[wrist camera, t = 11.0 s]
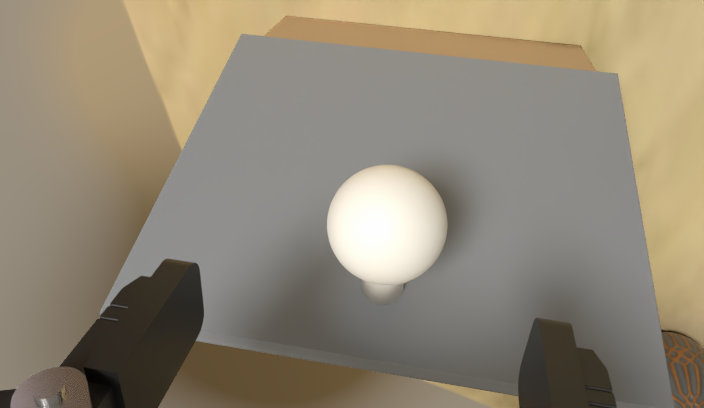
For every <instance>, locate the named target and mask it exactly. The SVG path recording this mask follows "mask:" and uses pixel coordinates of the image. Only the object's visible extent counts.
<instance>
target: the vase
mask: <svg viewBox="0 0 704 408" xmlns="http://www.w3.org/2000/svg"><path fill="white" fill-rule="evenodd" d="M661 333H662V339H663V345H664V351H665V357H666V363H667V369H668V375H669V381H670V387H671V392H672V398H673V404H674V408H704V349H703V348H702V347H701V346H700V345H699V344H698V343H696V342H695V341H693V340H692V339H690V338H688V337H686V336H683V335H680V334H677V333H672V332H661Z"/></svg>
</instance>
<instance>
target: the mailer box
mask: <svg viewBox="0 0 704 408" xmlns="http://www.w3.org/2000/svg"><path fill="white" fill-rule="evenodd" d="M264 36H266V37H275V38H285V39H294V40H304V41H313V42H322V43H332V44H341V45H351V46H360V47H370V48H379V49H389V50H398V51H407V52H417V53H426V54H436V55H445V56H455V57H464V58H474V59H483V60H492V61H502V62H511V63H521V64H530V65H540V66H549V67H559V68H568V69H577V70H587V71H595V69H594V67H593V66H592V64H591V62H590V60H589V59H588V57H587V55H586V54H585V52H584V50H583V48H582V47H581V46H579V45H570V44H560V43H550V42H540V41H530V40H520V39H510V38H500V37H491V36H481V35H471V34H461V33H451V32H441V31H431V30H421V29H411V28H402V27H392V26H382V25H372V24H362V23H352V22H342V21H332V20H322V19H313V18H303V17H293V16H286V17H284V18H283V19H282V20H281V21H280V22H279V23H278V24H277V25H276V26H274V27H273V28H272V29H271V30H270V31H269V32H268V33H267V34H266V35H264Z"/></svg>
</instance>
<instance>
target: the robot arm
mask: <svg viewBox="0 0 704 408" xmlns="http://www.w3.org/2000/svg"><path fill="white" fill-rule="evenodd" d="M203 319H204V304H203V295H202V286H201V276H200V268H199V265H198V264H197V263H194V262H187V261H181V260H175V259H165V260H163V261H162V263H161V264H160V265H159V267H158V268H157V269H156V271H155V272H154V273H153V275H152V276H151V277H147V276H140V277H138V278H137V279H135V280H134V281H132V282H131V283H129V284H128V285H126V286H125V287H123V288H122V289H121V290H120V292H119V293H118V294H117V295H116V297H115V298H114V299H113V300H112V302H111V303H110V306H108V307H107V308H106V309H105V310H104V312H103V313H102V314H101V315H100V319H97V320H96V322H95V323H94V324H93V325H92V327H91V328H90V329H89V331H88V332H87V333H86V334H85V335H84V337H83V338H82V339H81V340H80V342H79V343H78V344H77V346H76V347H75V348H74V349H73V351H72V352H71V353H70V354H69V355H68V357H67V358H66V359H65V360H64V362H63V363H62V364H61V365H60V366H59V367H53V368H48V369H45V370H42V371H40V372H38V373H36V374H34V375H32V376H30V377H29V378H27V379H26V380H25V381H24V382H23V383H22V384H21V385H19V387H18V388H17V389H12V390H3V391H0V408H158V406H159V404H160V403H161V401H162V399H163V397H164V396H165V394H166V392H167V390H168V389H169V387H170V385H171V383H172V382H173V380H174V378H175V376H176V375H177V372H178V371H179V369H180V367H181V366H182V364H183V362H184V360H185V359H186V357H187V355H188V353H189V351H190V350H191V348H192V346H193V344H194V343H195V341H196V339H197V337H198V335H199V333H200V331H201V328H202V324H203ZM612 390H613V389H612V386H611V382H610V378H609V374H608V370H607V368H606V367H605V366H604V364H603V363H602V362H601V360H600V359H599V358H598V356H597V355H596V354H595V352H594V351H593V350H590V349H584V348H578V347H576V342H575V338H574V333H573V328H572V325H571V324H570V323H568V322H562V321H556V320H549V319H543V318H535V320H534V322H533V325H532V328H531V332H530V335H529V338H528V342H527V345H526V348H525V352H524V355H523V358H522V362H521V366H520V371H519V379H518V395H519V407H520V408H617V405H616V401H615V397H614V394H613V393H612Z"/></svg>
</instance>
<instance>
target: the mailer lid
mask: <svg viewBox="0 0 704 408" xmlns="http://www.w3.org/2000/svg"><path fill="white" fill-rule="evenodd" d="M165 259H175V260H181V261H187V262H194V263H197V264H198V265H199V268H200V276H201V286H202V295H203V304H204V319H203V324H202V328H201V331H200V333H199V335H198V337H197V339H196V341H201V342H206V343H212V344H218V345H224V346H229V347H236V348H241V349H247V350H253V351H259V352H264V353H270V354H276V355H282V356H288V357H294V358H300V359H306V360H311V361H317V362H323V363H328V364H334V365H340V366H346V367H352V368H358V369H364V370H369V371H375V372H381V373H387V374H393V375H398V376H405V377H410V378H416V379H422V380H428V381H433V382H439V383H445V384H451V385H457V386H463V387H468V388H474V389H480V390H486V391H492V392H498V393H503V394H509V395H515V396H519V395H518V379H519V371H520V366H521V362H522V358H523V355H524V352H525V348H526V345H527V342H528V338H529V335H530V332H531V328H532V325H533V322H534V320H535V318H543V319H549V320H556V321H562V322H568V323H570V324H571V325H572V328H573V333H574V338H575V342H576V347H578V348H584V349H590V350H593V351H594V352H595V354H596V355H597V356H598V358H599V359H600V360H601V362H602V363H603V364H604V366H605V367H606V368H607V370H608V374H609V378H610V382H611V386H612V389H613V390H612V393H613V394H614V397H615V401H616V405H617V408H674V404H673V398H672V392H671V387H670V381H669V375H668V369H667V363H666V357H665V351H664V345H663V339H662V333H661V327H660V321H659V316H658V310H657V304H656V298H655V292H654V286H653V280H652V274H651V268H650V262H649V256H648V250H647V245H646V239H645V233H644V227H643V221H642V215H641V209H640V203H639V197H638V191H637V185H636V179H635V174H634V168H633V162H632V156H631V150H630V144H629V138H628V132H627V126H626V120H625V114H624V108H623V103H622V97H621V91H620V85H619V79H618V74H615V73H606V72H596V71H587V70H577V69H568V68H559V67H549V66H540V65H530V64H521V63H511V62H502V61H492V60H483V59H474V58H464V57H455V56H445V55H436V54H426V53H417V52H407V51H398V50H389V49H379V48H370V47H360V46H351V45H341V44H332V43H322V42H313V41H304V40H294V39H285V38H275V37H266V36H256V35H247V34H241V36H240V38H239V40H238V42H237V44H236V46H235V48H234V50H233V52H232V54H231V56H230V58H229V60H228V62H227V64H226V66H225V68H224V70H223V71H222V73H221V75H220V77H219V79H218V81H217V83H216V85H215V87H214V89H213V91H212V93H211V95H210V97H209V99H208V101H207V103H206V105H205V107H204V109H203V111H202V113H201V115H200V117H199V119H198V121H197V122H196V124H195V126H194V128H193V130H192V132H191V134H190V136H189V138H188V140H187V142H186V144H185V146H184V148H183V150H182V152H181V154H180V156H179V158H178V160H177V162H176V164H175V166H174V168H173V170H172V172H171V174H170V176H169V178H168V180H167V181H166V183H165V186H164V187H163V189H162V191H161V193H160V195H159V197H158V199H157V201H156V203H155V205H154V207H153V209H152V211H151V213H150V215H149V217H148V219H147V221H146V223H145V225H144V227H143V228H142V231H141V233H140V234H139V236H138V239H137V240H136V242H135V244H134V247H133V248H132V250H131V252H130V254H129V256H128V258H127V260H126V262H125V264H124V266H123V268H122V270H121V272H120V274H119V276H118V278H117V280H116V281H115V283H114V285H113V288H112V289H111V291H110V293H109V295H108V297H107V299H106V301H105V303H104V305H103V307H102V309H101V311H100V313H99V314H100V315H101V314H102V313H103V312H104V310H105V309H106V308H107V307H108V306H110V303H111V302H112V300H113V299H114V298H115V297H116V295H117V294H118V293H119V292H120V290H121V289H122V288H123V287H125V286H126V285H128V284H129V283H131V282H132V281H134V280H135V279H137V278H138V277H140V276H147V277H151V276H152V275H153V273H154V272H155V271H156V269H157V268H158V267H159V265H160V264H161V263H162V261H163V260H165Z"/></svg>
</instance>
